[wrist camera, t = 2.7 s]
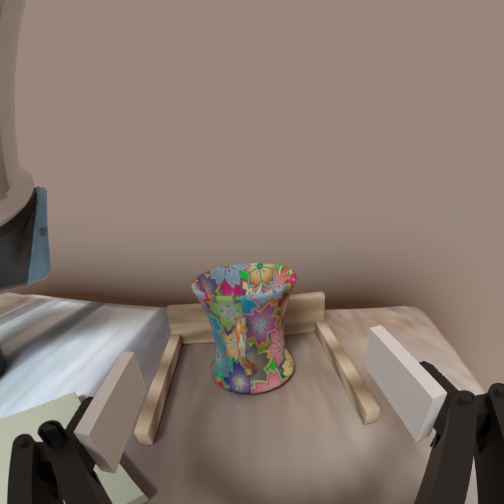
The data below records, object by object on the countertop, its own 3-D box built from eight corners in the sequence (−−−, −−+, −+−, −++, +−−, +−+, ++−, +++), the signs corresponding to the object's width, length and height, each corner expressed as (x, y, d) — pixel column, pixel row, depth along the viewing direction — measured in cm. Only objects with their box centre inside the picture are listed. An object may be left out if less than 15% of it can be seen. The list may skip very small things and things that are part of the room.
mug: (214, 351, 32) (201, 266, 30) (293, 346, 32) (290, 259, 29) (196, 423, 20) (168, 315, 18) (307, 419, 20) (309, 307, 18)
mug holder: (377, 421, 18) (388, 376, 17) (139, 443, 17) (118, 402, 16) (321, 326, 36) (321, 291, 35) (175, 339, 35) (168, 305, 34)
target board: (-26, 435, 11) (-31, 428, 11) (78, 398, 22) (74, 391, 22) (-2, 551, 1) (-11, 545, 1) (149, 500, 12) (144, 494, 12)
